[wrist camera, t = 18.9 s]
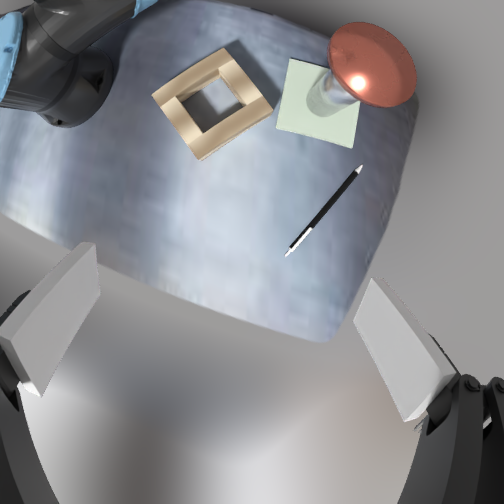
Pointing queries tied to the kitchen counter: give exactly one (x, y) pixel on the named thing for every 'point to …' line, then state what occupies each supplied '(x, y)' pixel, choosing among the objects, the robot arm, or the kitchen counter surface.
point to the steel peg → (363, 71)
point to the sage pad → (302, 119)
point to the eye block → (199, 78)
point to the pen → (324, 210)
